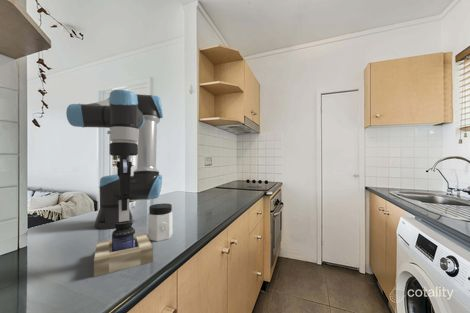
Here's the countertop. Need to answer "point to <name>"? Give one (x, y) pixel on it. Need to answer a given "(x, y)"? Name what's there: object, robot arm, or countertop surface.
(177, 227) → the countertop surface
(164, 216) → the jar
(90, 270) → the countertop surface
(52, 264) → the countertop surface
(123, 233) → the pill bottle
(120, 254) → the jig
